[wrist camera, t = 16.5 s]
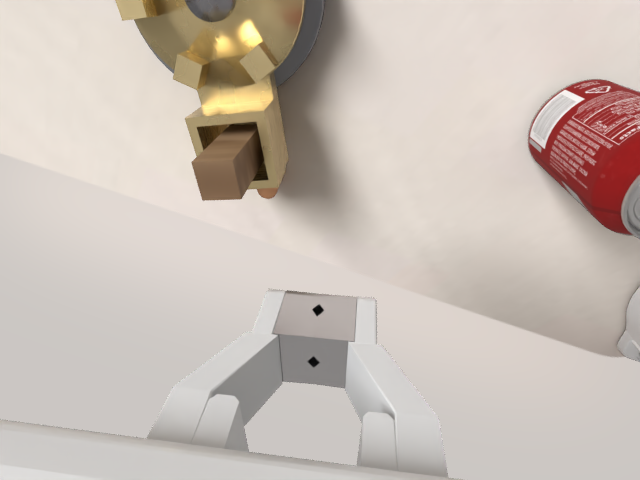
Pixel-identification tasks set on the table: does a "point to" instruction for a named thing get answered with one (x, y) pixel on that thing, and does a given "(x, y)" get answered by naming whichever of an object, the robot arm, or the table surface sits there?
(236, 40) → the rotary feeder
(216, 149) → the brown wooden peg
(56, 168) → the table surface
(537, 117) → the soda can
